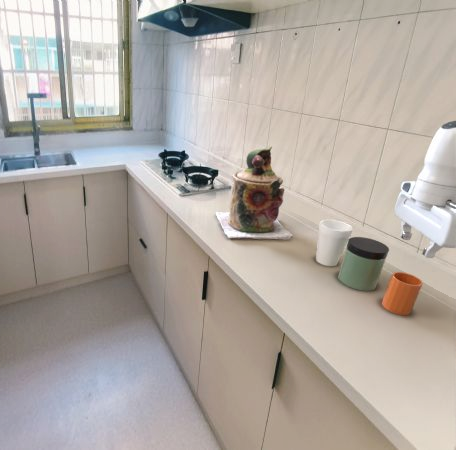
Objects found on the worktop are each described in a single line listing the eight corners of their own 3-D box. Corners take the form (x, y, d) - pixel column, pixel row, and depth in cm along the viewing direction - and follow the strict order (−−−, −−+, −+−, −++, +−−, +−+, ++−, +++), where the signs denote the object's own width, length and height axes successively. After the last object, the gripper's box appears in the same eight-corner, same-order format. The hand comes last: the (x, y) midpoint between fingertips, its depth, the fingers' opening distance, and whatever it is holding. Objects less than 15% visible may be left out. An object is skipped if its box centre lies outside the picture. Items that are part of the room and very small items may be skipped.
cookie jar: (213, 215, 145) (222, 139, 132) (269, 215, 147) (283, 141, 134) (228, 240, 123) (240, 152, 110) (293, 241, 124) (313, 154, 111)
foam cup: (313, 251, 117) (321, 217, 112) (342, 259, 113) (353, 223, 107) (309, 263, 109) (318, 226, 104) (340, 271, 105) (351, 234, 100)
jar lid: (376, 244, 101) (378, 238, 100) (394, 261, 91) (396, 254, 91) (341, 241, 102) (342, 235, 101) (355, 257, 92) (357, 251, 92)
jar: (366, 273, 105) (377, 240, 100) (382, 292, 96) (395, 256, 91) (332, 270, 106) (342, 237, 101) (345, 289, 96) (356, 253, 92)
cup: (401, 301, 92) (413, 273, 88) (415, 316, 86) (428, 286, 82) (377, 299, 92) (387, 270, 89) (389, 314, 87) (400, 284, 83)
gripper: (486, 211, 68) (459, 270, 73) (424, 182, 86) (406, 231, 92) (453, 208, 68) (428, 267, 74) (398, 180, 87) (381, 229, 92)
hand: (415, 247), depth 83 cm, fingers open, 8 cm apart
